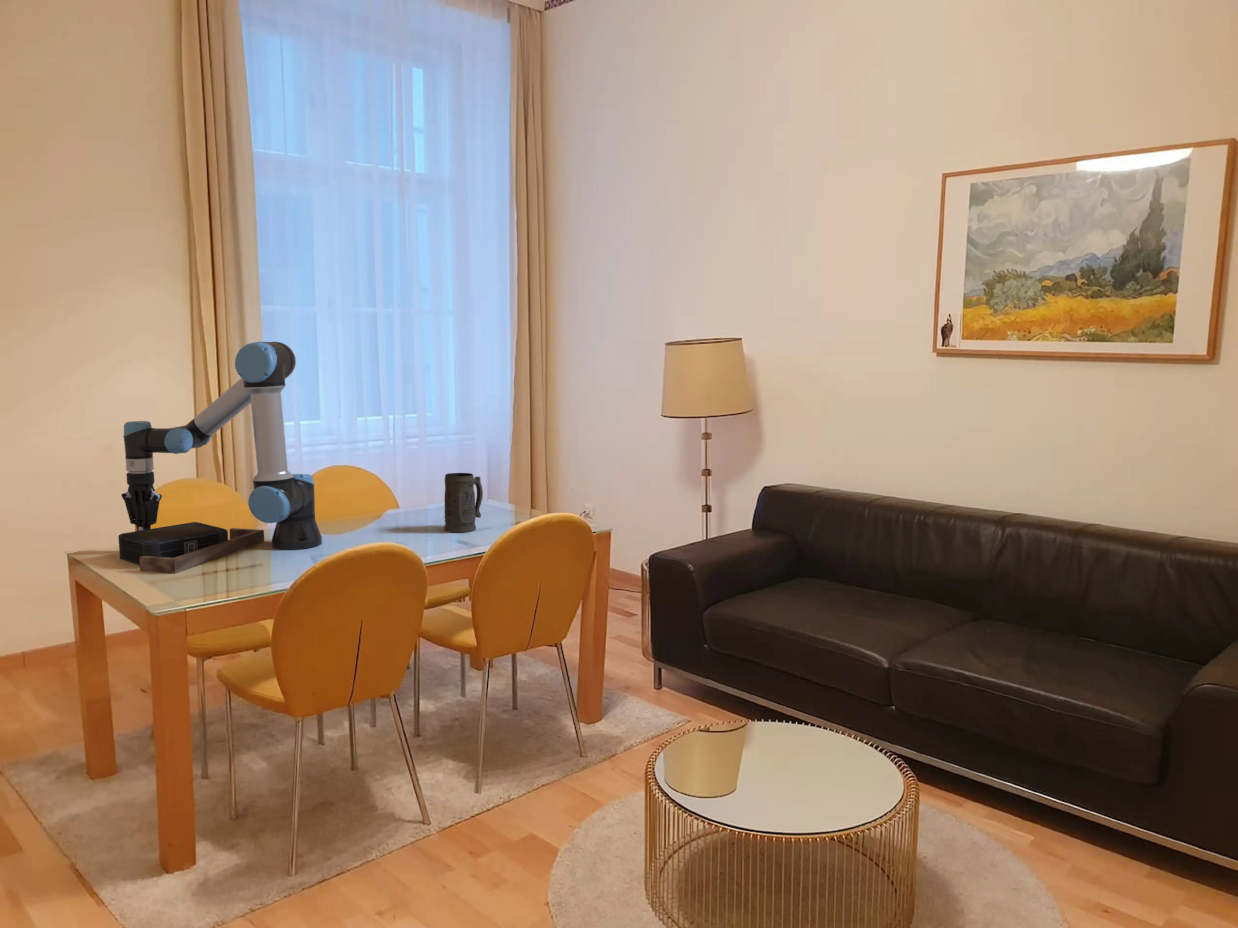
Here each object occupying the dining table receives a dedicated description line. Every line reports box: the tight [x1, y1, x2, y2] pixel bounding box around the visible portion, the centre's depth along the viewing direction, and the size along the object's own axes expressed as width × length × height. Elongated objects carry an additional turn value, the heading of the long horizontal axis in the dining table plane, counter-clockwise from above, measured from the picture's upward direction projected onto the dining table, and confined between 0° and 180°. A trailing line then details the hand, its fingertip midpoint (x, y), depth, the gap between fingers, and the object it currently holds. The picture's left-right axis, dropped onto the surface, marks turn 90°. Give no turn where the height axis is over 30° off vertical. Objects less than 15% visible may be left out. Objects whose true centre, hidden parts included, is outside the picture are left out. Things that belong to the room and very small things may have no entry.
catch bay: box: [139, 527, 265, 574], centre depth 278 cm, size 12×41×4 cm, turn 166°
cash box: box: [118, 521, 229, 566], centre depth 278 cm, size 25×20×8 cm
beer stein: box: [444, 472, 484, 534], centre depth 318 cm, size 15×11×20 cm
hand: (144, 546), depth 284 cm, fingers closed
